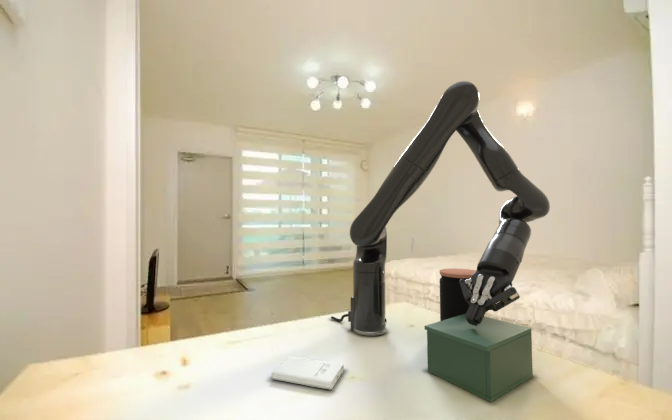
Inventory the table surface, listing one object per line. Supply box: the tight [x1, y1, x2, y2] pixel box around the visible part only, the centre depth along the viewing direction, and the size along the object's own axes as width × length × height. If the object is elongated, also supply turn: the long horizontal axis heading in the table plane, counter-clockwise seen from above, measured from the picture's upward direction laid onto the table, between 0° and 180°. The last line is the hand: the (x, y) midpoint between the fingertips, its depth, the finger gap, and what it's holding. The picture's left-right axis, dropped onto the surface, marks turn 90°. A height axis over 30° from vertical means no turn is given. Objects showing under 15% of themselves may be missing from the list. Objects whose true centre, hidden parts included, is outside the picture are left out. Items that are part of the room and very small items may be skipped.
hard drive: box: [271, 355, 345, 391], centre depth 63 cm, size 2×8×12 cm
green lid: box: [424, 314, 532, 352], centre depth 64 cm, size 16×14×1 cm
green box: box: [426, 330, 534, 403], centre depth 64 cm, size 16×14×9 cm
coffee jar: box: [439, 268, 477, 321], centre depth 82 cm, size 11×11×18 cm
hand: (471, 322), depth 63 cm, fingers closed
